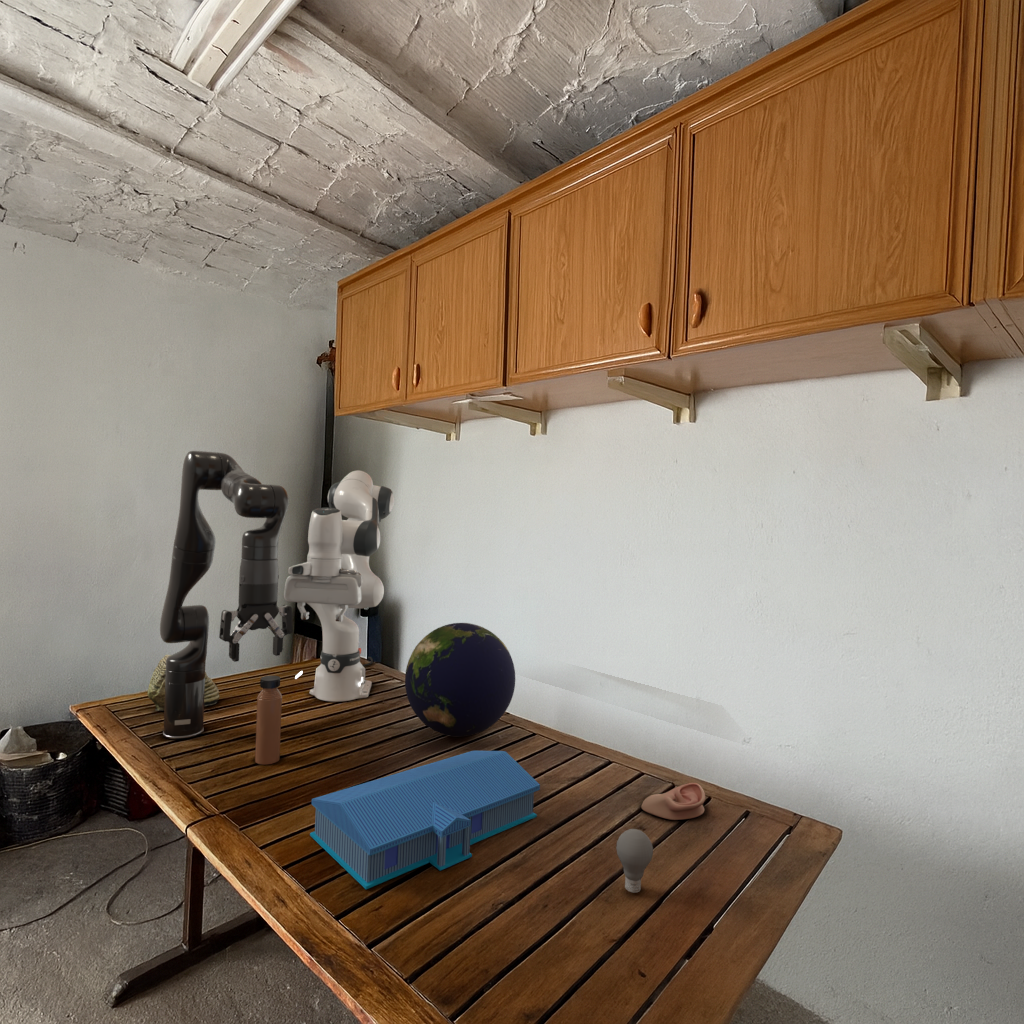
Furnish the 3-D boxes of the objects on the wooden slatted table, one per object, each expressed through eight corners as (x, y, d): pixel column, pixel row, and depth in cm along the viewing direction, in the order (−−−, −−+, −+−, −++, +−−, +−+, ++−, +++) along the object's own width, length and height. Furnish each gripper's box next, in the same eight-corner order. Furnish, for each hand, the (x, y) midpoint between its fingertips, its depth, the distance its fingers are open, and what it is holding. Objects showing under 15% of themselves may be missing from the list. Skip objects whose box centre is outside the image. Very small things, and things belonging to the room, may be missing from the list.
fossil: (144, 707, 182) (145, 655, 182) (212, 696, 194) (213, 647, 194) (151, 716, 175) (153, 662, 175) (221, 703, 188) (223, 653, 188)
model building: (376, 899, 100) (378, 836, 100) (308, 834, 119) (310, 781, 118) (548, 822, 127) (550, 773, 127) (472, 779, 145) (474, 735, 145)
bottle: (281, 762, 150) (284, 681, 149) (256, 766, 147) (259, 684, 147) (278, 753, 155) (281, 675, 154) (253, 757, 152) (256, 677, 152)
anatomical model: (642, 796, 131) (642, 773, 142) (641, 815, 131) (641, 791, 142) (708, 805, 128) (703, 781, 140) (707, 825, 129) (702, 799, 140)
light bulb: (610, 879, 108) (613, 822, 108) (644, 879, 109) (647, 822, 109) (619, 902, 102) (622, 840, 102) (655, 901, 103) (658, 840, 103)
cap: (281, 687, 150) (281, 679, 150) (261, 689, 148) (261, 681, 148) (278, 682, 154) (279, 674, 154) (259, 684, 152) (259, 676, 151)
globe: (380, 741, 165) (385, 626, 164) (436, 708, 192) (440, 610, 192) (485, 764, 153) (490, 641, 153) (528, 725, 181) (533, 621, 181)
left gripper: (284, 576, 139) (281, 649, 139) (216, 579, 129) (213, 658, 130) (299, 580, 134) (296, 656, 134) (230, 584, 124) (227, 667, 124)
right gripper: (365, 569, 172) (363, 620, 172) (292, 565, 173) (290, 615, 173) (358, 571, 165) (356, 624, 165) (282, 567, 167) (280, 620, 167)
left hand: (256, 657), depth 132 cm, fingers open, 8 cm apart
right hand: (322, 620), depth 169 cm, fingers open, 8 cm apart
